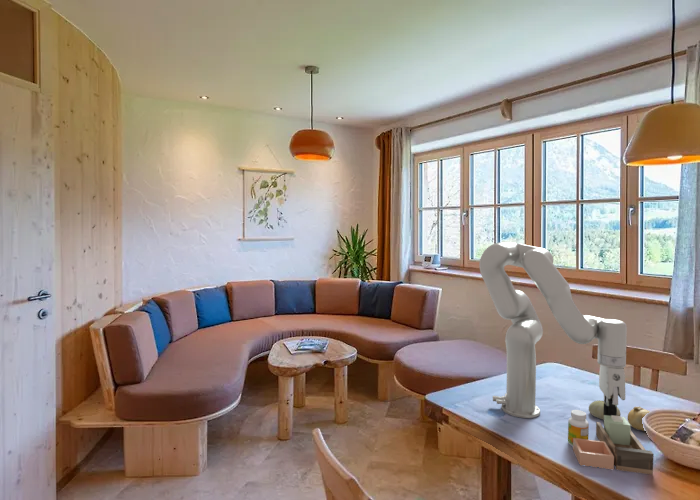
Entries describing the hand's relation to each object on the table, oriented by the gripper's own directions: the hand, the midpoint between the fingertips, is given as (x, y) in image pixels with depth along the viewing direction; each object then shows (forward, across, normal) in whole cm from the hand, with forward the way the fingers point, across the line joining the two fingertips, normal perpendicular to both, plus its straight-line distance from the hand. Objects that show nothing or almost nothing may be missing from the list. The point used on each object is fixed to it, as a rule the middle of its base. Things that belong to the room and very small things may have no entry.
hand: (609, 417), depth 135 cm
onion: (+6, +6, -11) cm, 14 cm away
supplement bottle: (+5, -10, +11) cm, 16 cm away
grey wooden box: (+5, -12, 0) cm, 13 cm away
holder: (+5, -18, +9) cm, 21 cm away
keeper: (+4, -7, 0) cm, 8 cm away
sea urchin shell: (+6, +13, -2) cm, 14 cm away
